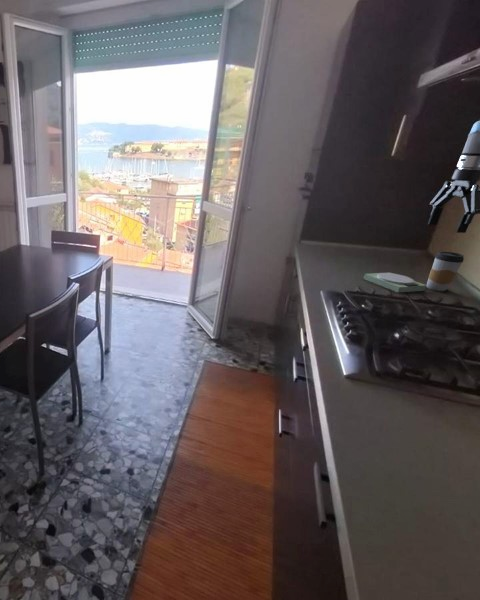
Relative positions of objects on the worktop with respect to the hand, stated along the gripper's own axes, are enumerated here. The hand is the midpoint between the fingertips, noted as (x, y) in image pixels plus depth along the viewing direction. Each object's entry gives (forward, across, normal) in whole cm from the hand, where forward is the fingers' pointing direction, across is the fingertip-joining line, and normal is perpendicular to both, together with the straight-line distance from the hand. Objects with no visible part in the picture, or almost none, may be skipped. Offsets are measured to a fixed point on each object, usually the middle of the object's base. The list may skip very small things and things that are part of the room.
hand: (445, 228), depth 134 cm
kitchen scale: (+26, -8, -5) cm, 28 cm away
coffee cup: (+26, -6, +10) cm, 29 cm away
